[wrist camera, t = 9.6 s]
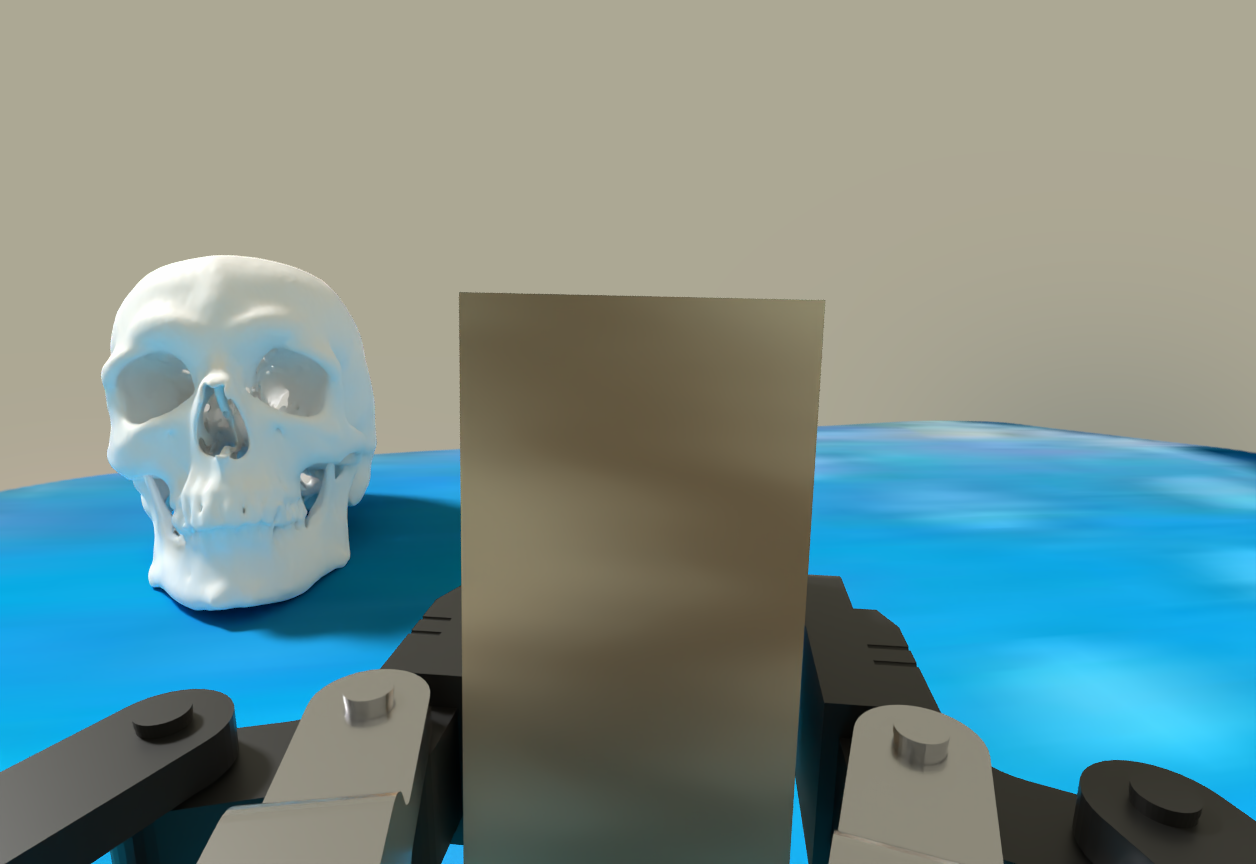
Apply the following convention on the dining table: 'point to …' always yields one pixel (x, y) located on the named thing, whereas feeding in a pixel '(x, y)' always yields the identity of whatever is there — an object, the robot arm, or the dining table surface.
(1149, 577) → the dining table surface
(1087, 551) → the dining table surface
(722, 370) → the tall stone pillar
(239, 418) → the skull planter
